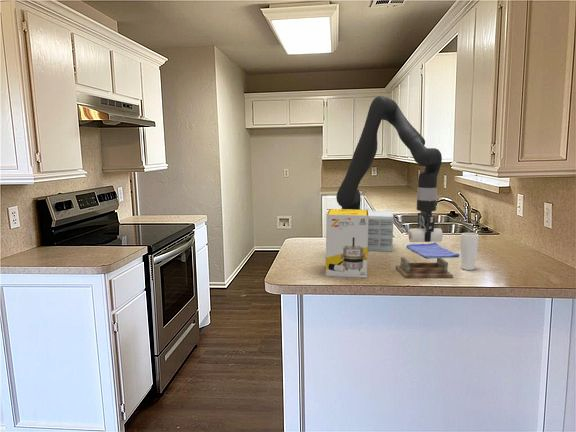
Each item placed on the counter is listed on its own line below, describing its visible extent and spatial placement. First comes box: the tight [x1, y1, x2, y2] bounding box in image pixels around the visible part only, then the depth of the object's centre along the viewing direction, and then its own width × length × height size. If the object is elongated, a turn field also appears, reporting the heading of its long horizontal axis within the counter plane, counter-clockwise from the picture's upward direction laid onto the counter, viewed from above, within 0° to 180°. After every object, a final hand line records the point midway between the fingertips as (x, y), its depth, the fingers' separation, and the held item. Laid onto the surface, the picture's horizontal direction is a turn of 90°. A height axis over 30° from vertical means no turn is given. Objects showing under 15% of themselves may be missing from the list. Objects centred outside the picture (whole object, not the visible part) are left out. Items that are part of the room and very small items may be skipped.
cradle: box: [395, 256, 454, 279], centre depth 171 cm, size 19×14×6 cm
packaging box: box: [325, 208, 369, 279], centre depth 172 cm, size 16×16×25 cm
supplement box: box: [368, 210, 395, 253], centre depth 215 cm, size 17×13×18 cm
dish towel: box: [406, 242, 461, 260], centre depth 207 cm, size 17×24×3 cm
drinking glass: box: [460, 232, 480, 271], centre depth 176 cm, size 7×7×15 cm
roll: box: [408, 227, 444, 243], centre depth 169 cm, size 13×6×6 cm, turn 91°
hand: (424, 239), depth 169 cm, fingers closed on roll, 5 cm apart
